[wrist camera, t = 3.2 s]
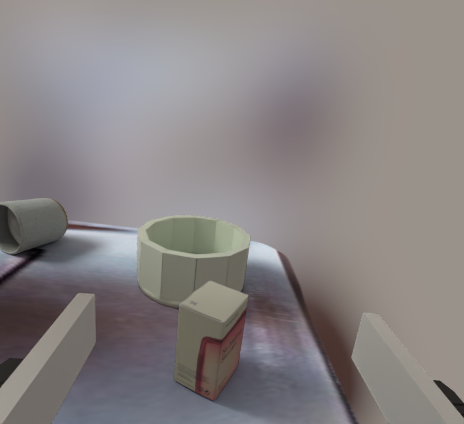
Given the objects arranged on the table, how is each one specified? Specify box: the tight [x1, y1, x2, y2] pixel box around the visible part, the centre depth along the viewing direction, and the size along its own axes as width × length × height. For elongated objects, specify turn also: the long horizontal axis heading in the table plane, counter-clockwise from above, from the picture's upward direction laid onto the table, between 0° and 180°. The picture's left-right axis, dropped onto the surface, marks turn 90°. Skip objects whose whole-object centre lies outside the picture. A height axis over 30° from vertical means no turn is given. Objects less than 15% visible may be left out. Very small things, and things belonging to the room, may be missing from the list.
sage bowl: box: [137, 216, 251, 308], centre depth 43 cm, size 15×15×7 cm
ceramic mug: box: [0, 198, 68, 254], centre depth 48 cm, size 11×8×8 cm
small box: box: [174, 281, 249, 400], centre depth 27 cm, size 5×4×8 cm
